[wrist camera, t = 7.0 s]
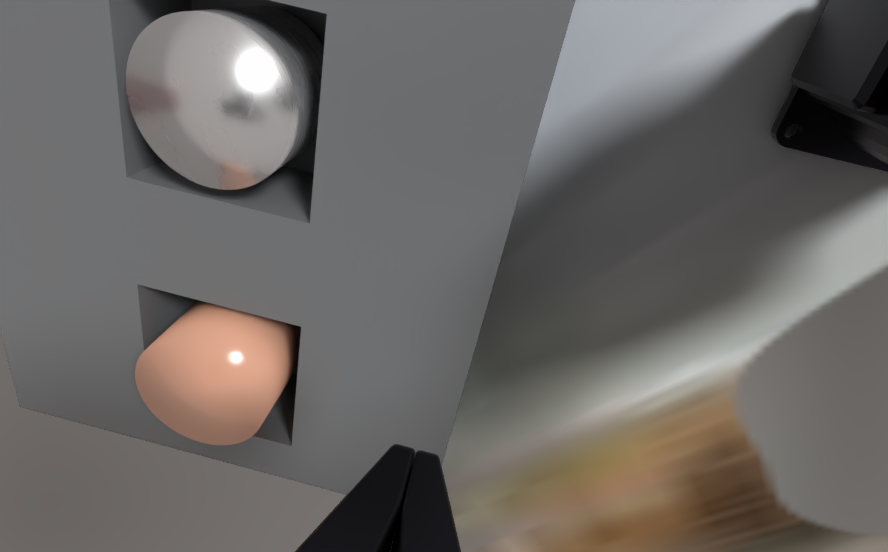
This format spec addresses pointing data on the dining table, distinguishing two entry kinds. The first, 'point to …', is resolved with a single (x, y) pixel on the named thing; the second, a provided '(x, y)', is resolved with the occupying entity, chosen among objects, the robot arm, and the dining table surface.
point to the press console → (272, 221)
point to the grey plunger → (226, 92)
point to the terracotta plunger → (217, 372)
